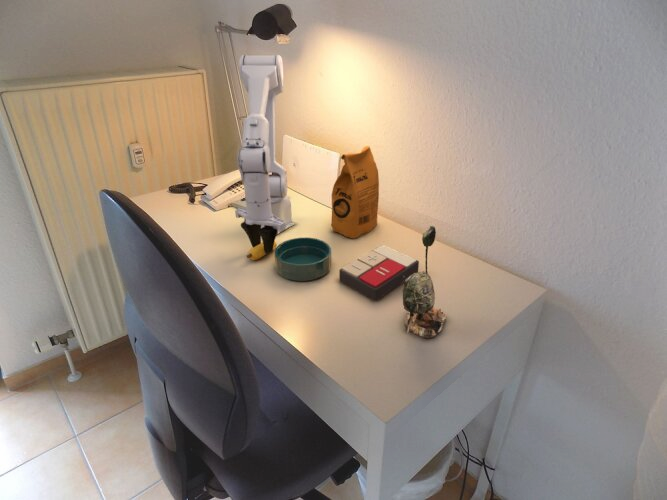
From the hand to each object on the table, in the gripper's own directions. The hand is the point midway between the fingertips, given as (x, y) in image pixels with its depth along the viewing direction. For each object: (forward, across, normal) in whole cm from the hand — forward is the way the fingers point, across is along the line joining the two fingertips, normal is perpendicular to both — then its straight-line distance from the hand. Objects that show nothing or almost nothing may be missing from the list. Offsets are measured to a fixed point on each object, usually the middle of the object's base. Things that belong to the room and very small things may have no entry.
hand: (262, 249), depth 107 cm
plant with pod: (+2, +44, -3) cm, 44 cm away
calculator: (+2, +29, +7) cm, 30 cm away
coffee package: (+2, +11, +25) cm, 27 cm away
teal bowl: (+1, +12, +1) cm, 12 cm away
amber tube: (+1, 0, 0) cm, 1 cm away
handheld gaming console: (+2, -24, +24) cm, 34 cm away
